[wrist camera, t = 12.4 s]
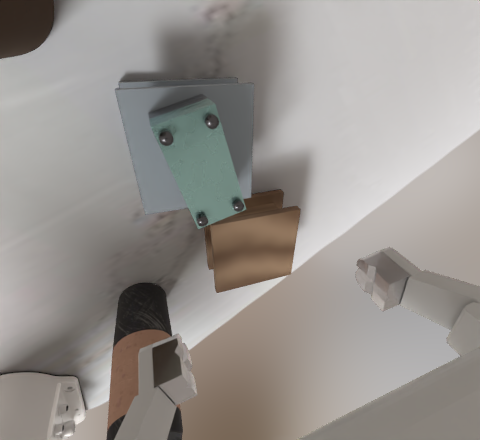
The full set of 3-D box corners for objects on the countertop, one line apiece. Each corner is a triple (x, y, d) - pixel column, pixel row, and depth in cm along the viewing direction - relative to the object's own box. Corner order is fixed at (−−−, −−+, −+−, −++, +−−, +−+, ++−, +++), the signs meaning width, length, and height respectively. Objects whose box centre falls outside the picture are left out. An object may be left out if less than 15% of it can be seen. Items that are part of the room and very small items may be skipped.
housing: (231, 187, 29) (248, 212, 25) (189, 204, 29) (199, 232, 24) (201, 93, 23) (217, 105, 19) (148, 112, 23) (150, 129, 18)
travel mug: (105, 303, 40) (85, 471, 24) (141, 273, 39) (144, 427, 23) (144, 320, 45) (148, 469, 29) (176, 293, 44) (199, 433, 28)
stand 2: (274, 250, 46) (290, 274, 41) (207, 265, 43) (216, 293, 38) (280, 189, 39) (300, 209, 34) (201, 202, 36) (211, 226, 31)
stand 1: (236, 177, 35) (251, 197, 31) (144, 190, 32) (145, 214, 28) (234, 77, 29) (254, 83, 24) (118, 81, 26) (114, 89, 21)
